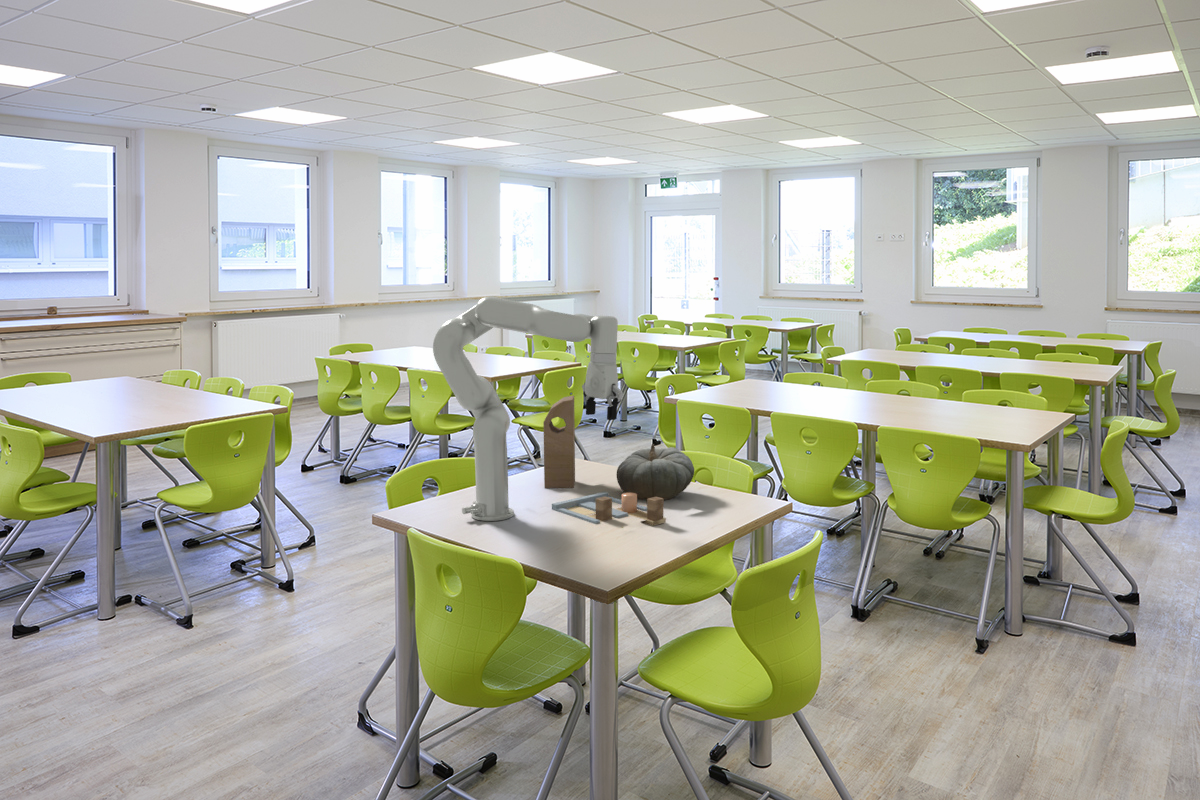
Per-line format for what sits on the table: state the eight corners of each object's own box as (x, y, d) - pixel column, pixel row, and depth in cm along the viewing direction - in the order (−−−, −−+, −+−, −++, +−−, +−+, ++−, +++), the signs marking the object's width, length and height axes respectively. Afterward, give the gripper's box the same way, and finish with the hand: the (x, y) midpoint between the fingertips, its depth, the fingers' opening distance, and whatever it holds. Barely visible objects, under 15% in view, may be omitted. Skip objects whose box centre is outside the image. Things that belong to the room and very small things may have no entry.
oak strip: (652, 525, 241) (652, 501, 240) (612, 513, 254) (612, 490, 253) (665, 522, 245) (665, 498, 244) (625, 510, 257) (625, 487, 256)
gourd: (696, 479, 285) (691, 431, 279) (697, 511, 261) (691, 459, 256) (622, 485, 288) (616, 437, 283) (616, 517, 264) (609, 466, 259)
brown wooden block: (600, 525, 242) (600, 501, 241) (584, 520, 247) (584, 496, 246) (614, 522, 245) (614, 497, 244) (598, 516, 250) (598, 493, 249)
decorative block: (573, 488, 284) (572, 399, 280) (544, 488, 285) (542, 399, 280) (575, 481, 294) (574, 395, 290) (546, 481, 294) (545, 395, 290)
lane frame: (595, 528, 240) (594, 518, 239) (551, 513, 255) (551, 503, 254) (648, 514, 253) (648, 504, 253) (604, 501, 268) (604, 491, 268)
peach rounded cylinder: (628, 514, 249) (628, 497, 248) (618, 510, 252) (618, 494, 252) (640, 511, 252) (640, 494, 251) (629, 508, 255) (629, 491, 255)
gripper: (574, 356, 250) (572, 413, 252) (612, 362, 236) (610, 422, 239) (594, 355, 254) (592, 411, 257) (632, 361, 241) (630, 420, 244)
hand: (600, 417), depth 248 cm, fingers open, 9 cm apart
